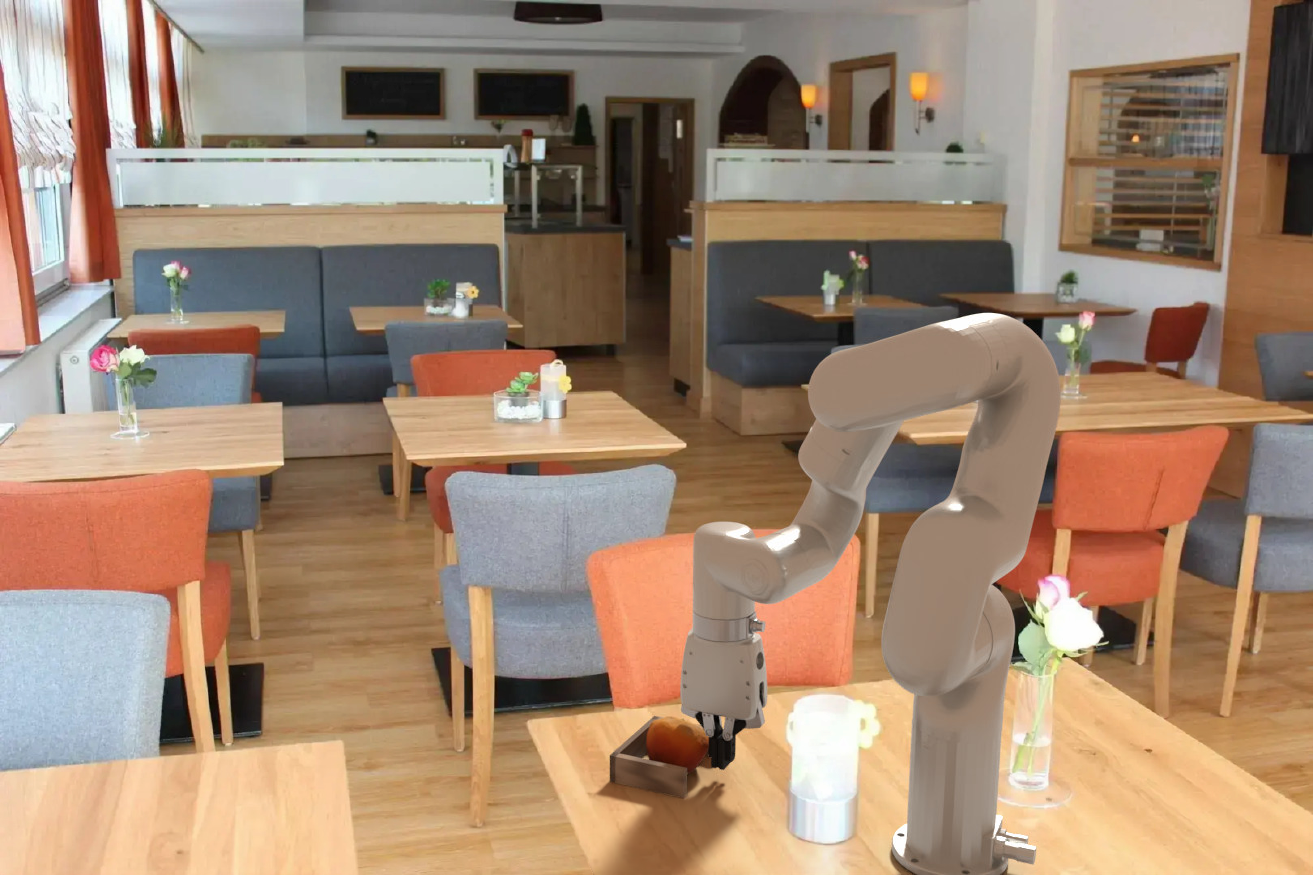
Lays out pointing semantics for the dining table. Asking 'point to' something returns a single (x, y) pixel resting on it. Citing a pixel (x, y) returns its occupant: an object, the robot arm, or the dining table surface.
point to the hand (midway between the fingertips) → (721, 764)
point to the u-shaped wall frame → (646, 767)
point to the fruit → (676, 742)
